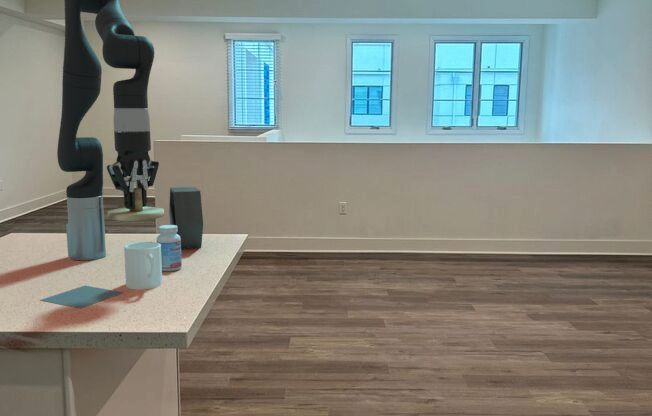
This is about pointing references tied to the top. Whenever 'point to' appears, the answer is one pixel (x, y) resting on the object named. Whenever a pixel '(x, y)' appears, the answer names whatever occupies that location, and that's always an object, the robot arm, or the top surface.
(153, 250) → the mug
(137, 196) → the lid
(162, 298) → the top surface
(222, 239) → the top surface
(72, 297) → the mat
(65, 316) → the top surface
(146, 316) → the top surface
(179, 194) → the planter
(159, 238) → the pill bottle
